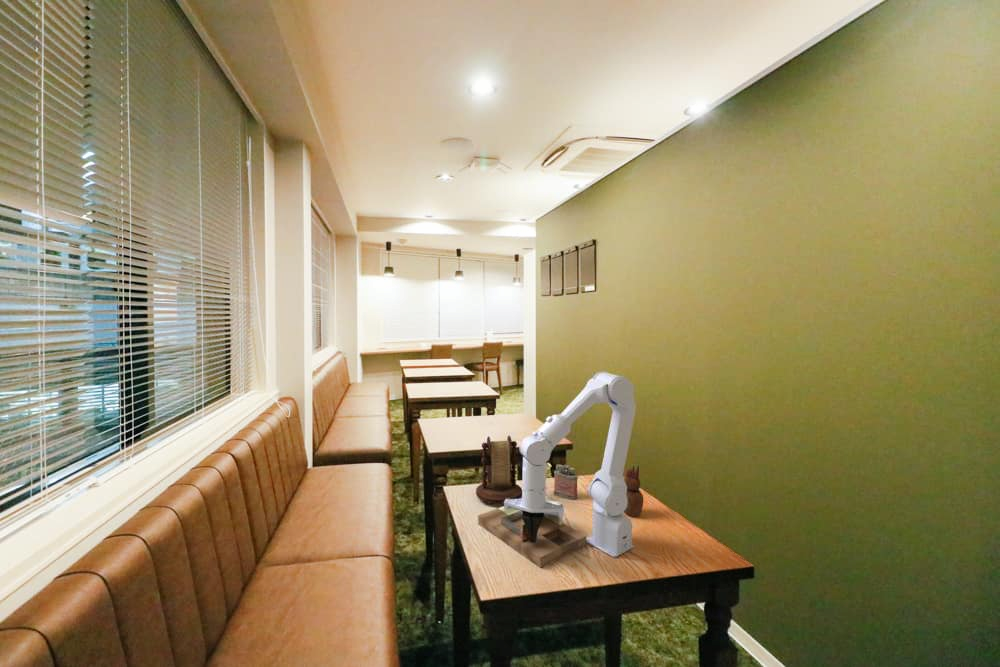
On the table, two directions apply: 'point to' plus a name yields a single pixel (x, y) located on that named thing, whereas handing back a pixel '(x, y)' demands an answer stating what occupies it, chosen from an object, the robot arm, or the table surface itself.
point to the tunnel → (550, 537)
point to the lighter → (565, 482)
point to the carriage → (518, 529)
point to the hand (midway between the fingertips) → (533, 540)
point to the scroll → (499, 472)
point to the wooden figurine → (633, 493)
